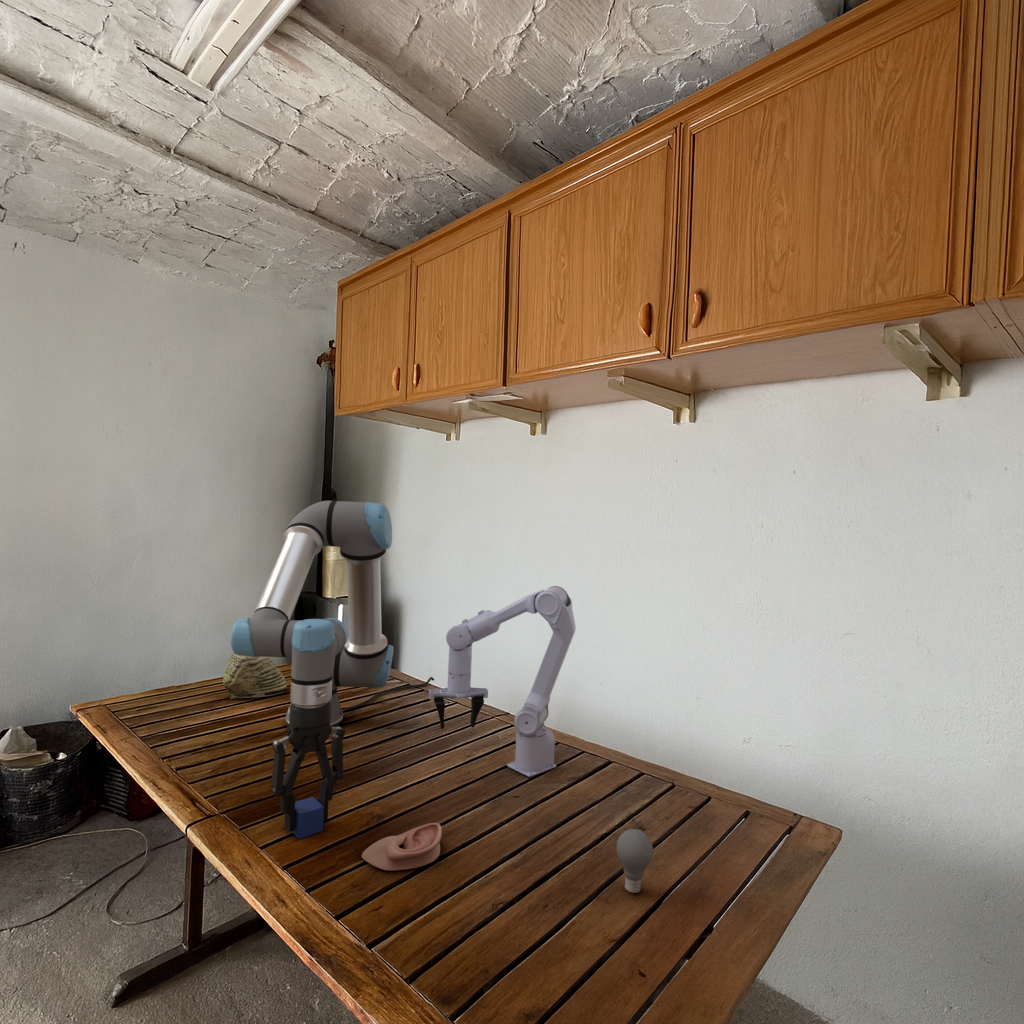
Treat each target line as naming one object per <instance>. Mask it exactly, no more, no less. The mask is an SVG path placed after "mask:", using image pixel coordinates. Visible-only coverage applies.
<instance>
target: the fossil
mask: <svg viewBox="0 0 1024 1024" xmlns="http://www.w3.org/2000/svg"><path fill="white" fill-rule="evenodd" d="M222 676H223V677H222V685H223V687H224V688H225V690H226V691H228V693H229V698H230V699H250V698H264V697H271V696H275V695H281V694H284V693H285V691H286V689H287V687H288V686H287V680H286V678H285V676H284V674H283V673H282V672H281V669H279V668H278V667H277V665H276V663H275V662H274V660H273V659H272V657H251V656H242V655H237V654H235V653H234V652H233V651H232V653H231V656H230V657H229V659H228V660H227V663H226V666H225V668H224V671H223V675H222Z"/></svg>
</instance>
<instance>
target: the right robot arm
mask: <svg viewBox="0 0 1024 1024" xmlns="http://www.w3.org/2000/svg"><path fill="white" fill-rule="evenodd" d="M524 613H529V614H533V615H536V614H537V613H538V614H539V615H540V616H541V617H542V618H543V619H544V620H545V621H546V622H547V623H548V625H549V627H550V628H551V631H552V634H551V637H550V640H549V641H548V645H547V647H546V650H545V652H544V655H543V658H542V661H541V664H540V666H539V668H538V671H537V674H536V677H535V678H534V681H533V683H532V686H531V690H530V692H529V694H528V695H527V697H526V700H525V701H524V704H523V706H522V707H521V709H520V710H518V711H517V712H516V714H515V716H514V720H513V721H514V722H513V723H514V727H515V729H516V730H515V750H514V752H515V753H514V761H512V762H509V763H507V764H506V766H507V767H508V768H510V769H512V770H513V771H516V772H518V773H520V774H522V775H524V776H526V777H528V778H532V777H534V776H537V775H540V774H542V773H545V772H547V771H550V770H552V769H556V768H557V764H556V763H555V752H556V751H555V748H556V739H555V735H554V732H553V731H552V729H550V728H549V727H547V726H546V725H545V722H546V720H547V719H548V717H549V714H550V713H549V704H550V702H551V695H552V692H553V690H554V688H555V685H556V682H557V680H558V677H559V675H560V672H561V669H562V666H563V665H564V661H565V659H566V657H567V654H568V652H569V648H570V646H571V643H572V640H573V639H574V636H575V633H576V629H577V627H576V621H575V616H574V615H575V614H574V611H573V601H572V598H571V597H570V595H569V594H568V592H567V590H565V588H563V587H562V586H559V585H552V586H549V587H548V588H547V589H542V590H538V591H535V592H532V593H529V594H527V595H525V596H523V597H521V598H519V599H517V600H516V601H514V602H512V603H509V604H508V605H506V606H505V607H502V608H501V609H498V610H497V611H492V610H490V609H486V610H485V609H481V610H479V611H477V614H476V615H475V616H473V617H471V618H469V619H468V618H465V619H463V620H461V623H459V624H457V625H454V626H452V627H451V628H450V629H449V630H448V631H447V633H446V635H445V636H446V637H445V640H446V644H447V645H448V663H447V664H448V666H447V667H448V668H447V687H443V688H442V687H441V688H437V689H436V688H435V689H429V690H428V699H429V700H430V701H433V702H434V705H435V707H436V710H437V714H438V718H439V719H438V720H439V727H440V729H441V730H443V729H445V710H446V709H445V708H446V704H445V699H469V698H470V701H471V702H470V705H471V708H470V709H471V710H470V720H469V721H470V722H469V723H470V724H469V725H470V727H471V728H476V727H475V726H476V722H477V719H478V717H479V716H478V715H479V713H480V711H481V710H482V708H483V706H484V705H485V699H489V698H488V697H489V689H487V688H486V687H472V686H471V683H472V682H471V681H472V657H473V654H472V653H473V644H474V643H475V642H479V641H481V640H483V639H485V638H487V637H489V636H491V635H493V634H495V633H497V632H498V631H499V630H500V626H501V624H504V623H506V622H507V621H509V620H511V619H514V618H516V617H518V616H520V615H522V614H524Z"/></svg>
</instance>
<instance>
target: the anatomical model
mask: <svg viewBox="0 0 1024 1024" xmlns="http://www.w3.org/2000/svg"><path fill="white" fill-rule="evenodd" d="M442 835H443V829H442V826H441V824H440V823H439V822H430V823H425V824H422V825H419V826H417V827H414V828H412V829H410V830H407V831H404V832H402V833H399V834H397V835H389V836H385V837H383V838H381V839H379V840H377V841H375V842H373V843H372V844H370V845H369V846H368V847H367V848H366V849H364V851H362V852H361V853H362V854H361V858H362V859H363V861H365V862H366V863H368V864H370V865H371V866H373V867H375V868H377V869H379V870H384V871H387V872H389V871H390V872H391V871H403V870H412V869H416V868H419V867H423V866H426V865H428V864H431V863H433V862H434V861H435V860H437V859H439V856H440V855H441V844H440V842H441V839H442Z"/></svg>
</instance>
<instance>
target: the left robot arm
mask: <svg viewBox="0 0 1024 1024" xmlns="http://www.w3.org/2000/svg"><path fill="white" fill-rule="evenodd" d="M392 524H393V523H392V518H391V515H390V511H389V509H388V507H387V506H386V505H385V504H384V503H378V502H371V501H343V500H341V501H339V500H321V501H319V502H315V503H313V504H311V505H309V506H307V507H306V508H304V509H302V510H301V512H299V513H297V514H296V515H295V516H294V518H293V519H292V520H290V522H289V524H288V525H287V526H286V528H285V530H284V533H283V535H282V544H283V545H282V548H281V550H280V552H279V554H278V556H277V559H276V562H275V563H274V565H273V568H272V570H271V573H270V575H269V576H268V579H267V581H266V584H265V586H264V588H263V590H262V593H261V595H260V598H259V600H258V602H257V604H256V607H255V609H254V610H253V614H252V616H251V618H250V617H243V618H239V619H238V620H236V621H235V622H234V623H233V626H232V629H231V632H230V647H231V650H232V653H233V652H234V653H235V654H237V655H242V656H251V657H269V658H290V659H291V673H290V675H291V676H290V691H289V692H290V693H289V694H290V695H289V701H290V704H289V706H288V709H287V713H286V715H285V726H286V728H287V729H288V731H287V733H286V736H284V737H282V738H279V739H278V738H274V739H273V740H272V741H271V745H272V749H273V760H272V772H271V781H270V782H271V783H270V792H271V793H272V794H273V795H274V796H275V797H277V798H278V797H280V812H281V813H283V815H284V827H285V828H286V829H287V831H289V832H290V833H291V832H292V831H294V819H295V802H296V794H294V793H293V790H294V787H295V784H296V782H297V781H296V780H297V778H298V775H299V772H300V768H301V765H302V762H303V761H304V760H305V757H306V755H308V754H309V753H311V752H314V753H315V755H316V759H317V762H318V765H319V769H320V772H321V777H322V780H323V781H320V782H318V802H319V803H320V804H322V805H323V806H324V820H323V822H326V821H329V802H330V801H332V800H333V797H334V796H333V794H334V787H335V786H336V785H337V781H338V780H342V779H343V777H344V753H343V752H344V751H343V750H344V749H343V746H344V745H343V741H344V738H345V735H346V730H345V729H344V728H342V727H341V726H340V725H342V723H343V722H344V713H343V711H349V710H350V711H351V710H353V709H356V708H360V707H362V706H364V705H366V704H368V703H369V702H371V701H374V699H376V698H377V697H379V696H381V695H383V694H386V693H390V692H396V691H400V690H406V689H413V688H414V689H415V688H420V687H425V686H427V685H428V684H430V682H431V681H435V678H434V677H433V676H430V677H429V678H428V679H427V680H426V681H425V682H423V683H419V684H413V685H412V684H411V685H405V686H398V687H392V688H388V689H385V690H382V691H379V692H377V693H376V694H374V695H373V696H371V697H370V698H368V699H366V700H363V701H362V702H359V703H357V704H354V705H351V706H344V707H343V706H341V702H340V699H339V695H338V687H339V688H344V687H345V688H369V689H372V688H384V687H385V686H386V685H387V684H388V681H389V678H390V673H391V668H392V663H393V657H394V646H393V645H391V644H388V639H387V637H386V635H384V634H383V633H382V584H381V583H382V581H381V578H382V577H381V559H382V558H383V557H384V556H385V555H386V553H387V550H388V549H390V548H391V546H392V544H393V525H392ZM324 547H337V548H339V553H340V556H341V558H342V559H344V560H345V561H346V577H347V578H346V579H347V607H348V628H349V629H347V627H346V624H345V623H343V622H342V620H339V619H338V618H335V617H327V618H307V619H303V620H297V619H296V620H292V619H291V618H292V616H293V613H294V610H295V608H296V605H297V603H298V601H299V598H300V595H301V592H302V589H303V587H304V584H305V582H306V579H307V577H308V574H309V571H310V568H311V566H312V563H313V561H314V558H315V556H317V555H318V554H319V553H321V551H322V550H323V548H324ZM348 631H349V633H348ZM329 738H331V739H330V742H331V743H330V744H331V763H330V760H329V757H328V756H329V755H328V750H327V746H326V742H327V740H328V739H329ZM289 744H290V745H291V746H292V748H291V751H290V757H289V761H288V764H287V767H286V771H285V766H286V751H287V750H288V745H289ZM292 833H293V832H292Z"/></svg>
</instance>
